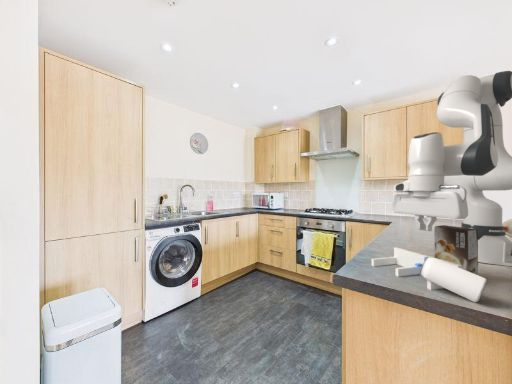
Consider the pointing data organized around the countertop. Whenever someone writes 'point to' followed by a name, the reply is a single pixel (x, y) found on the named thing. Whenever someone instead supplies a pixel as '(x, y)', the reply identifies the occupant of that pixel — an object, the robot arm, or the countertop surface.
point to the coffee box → (457, 246)
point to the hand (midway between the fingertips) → (425, 230)
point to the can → (453, 278)
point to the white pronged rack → (408, 264)
